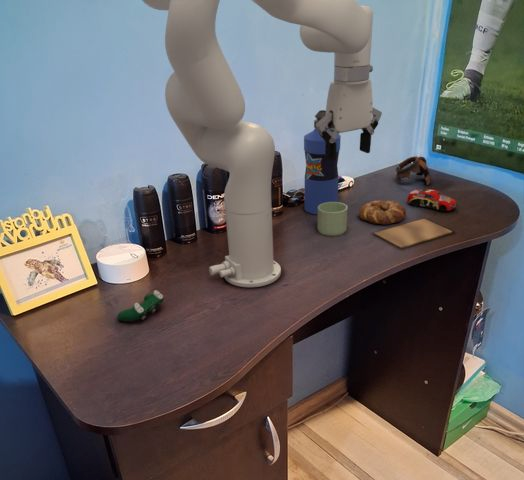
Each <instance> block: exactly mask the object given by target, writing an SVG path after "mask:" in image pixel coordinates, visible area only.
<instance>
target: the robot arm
mask: <svg viewBox="0 0 524 480" xmlns="http://www.w3.org/2000/svg"><path fill="white" fill-rule="evenodd" d="M251 1H252V2H253V3H255V4H256V5H257V6H258V7H260V8H261V9H262V10H263V11H264V12H266V13H267V14H268V15H270V16H271V17H273V18H275V19H278V20H280V21H283V22H285V23H286V22H287V23H289V24H294V25H300V26H299V37H300V40H301V42H302V43H303V45H304V46H305V47H306V49H309V50H310V51H313V52H318V53H329V54H330V53H331V54H332V53H333V54H334V59H333V60H334V61H333V81H331V82H330V84H329V87H328V91H327V98H326V105H325V106H326V107H325V111H326V115H325V116H324V117H323V118H322V119H321V120H319V121H318V122H317V123H316V127H317V129H318V132H319V135H320V136H321V137H322V138H323V140H324V141H326V143H325V155H326V158H327V159H329V160H331V161H335V160H336V143H335V142H334V141H335V139H336V138H337V136H338V134H343V133H347V132H348V133H349V132H352V131H357V130H361V131H362V132H360V134H359V135H360V137H359V151H361V152H362V153H365V154H370V153H371V145H372V136H373V135H374V133H375V130H376V128H377V127H378V125H379V121H380V120H381V117H382V114H383V113H382V111H381V110H379V109H377V108H375V107H374V106H373V103H374V102H373V101H374V100H373V87H372V80H371V79H370V73H372V72H373V71H374V67H373V65H371V55H372V54H371V51H372V38H373V24H374V23H373V22H374V15H373V14H374V13H373V10H372V8H371V7H370V6H368V5H361V4H359V2H357V0H251ZM142 2H143V3H144V4H145V5H147V6H148V7H149V8H151V9H154V10H157V11H168V12H167V18H166V25H165V34H164V46H165V47H164V48H165V52H166V57H167V59H168V62H169V64H170V66H171V68H172V70H173V73H171V74H170V75H169V77H168V79H167V82H166V84H165V90H164V98H165V105H166V108H167V110H168V113H169V115H170V117H171V118H172V120H173V122H174V123H175V125H176V127H177V128H178V130H179V132H180V133H181V134H182V136H183V138H184V139H185V141H186V142H187V144H188V146H189V147H190V148H191V150H192V151H193V153H194V154H195V156H196V157H197V158H198V160H200V161H201V162H202V163H203V164H206V165H208V166H210V167H214V168H218V169H221V170H224V171H226V172H228V173H229V177H228V180H227V183H226V185H225V188H224V193H223V201H224V202H223V204H224V214H225V225H226V235H227V246H228V255H225V256H224V261H222V262H221V263H220V264H215V265H210V266H209V267H208V272H209V275H210V276H215V275H218V274H219V277H220V278H224V279H225V281H226V282H228V283H229V284H231V285H232V286H235V287H241V288H259V287H260V288H261V287H264V286H268V285H270V284H272V283H274V282H276V281H278V279H279V278H280V277H281V275H282V267H281V264H279V263H278V262H276V261H275V260H274V236H273V235H274V234H273V232H274V231H273V208H272V207H273V206H272V177H273V176H272V175H273V168H274V162H275V155H276V146H275V141H274V138H273V136H272V135H271V133H270V132H269V131H268V130H267V129H266V128H264V127H263V126H262V125H259V124H258V123H254V122H250V121H245V120H243V118H244V115H245V112H246V103H245V102H246V101H245V97H244V95H243V91H242V89H241V87H240V85H239V83H238V81H237V79H236V76H235V75H234V74H233V71H232V68H231V67H230V65H229V63H228V61H227V59H226V57H225V55H224V53H223V50H222V49H221V48H222V47H221V45H220V44H219V40H218V38H217V33H216V21H217V15H218V14H217V13H218V9H219V5H220V0H142ZM325 126H326V128H327V129H328V130H327V131H326V130H325Z"/></svg>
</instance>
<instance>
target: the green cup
mask: <svg viewBox="0 0 524 480" xmlns="http://www.w3.org/2000/svg"><path fill="white" fill-rule="evenodd" d="M348 211H349V207H348V205H347V204H346V203H343V202H341V201H338V202H326V203H322V204H320V205H319V206H318V208H317V214H316V218H317V219H316V220H317V222H316V230H317V231H318V233H319V234H321V235H324V236H329V237H331V236H332V237H334V236H340V235H343V234H344V233H346V231H347V229H348V216H349V215H348V214H349V213H348Z"/></svg>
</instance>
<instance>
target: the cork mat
mask: <svg viewBox="0 0 524 480" xmlns="http://www.w3.org/2000/svg"><path fill="white" fill-rule="evenodd" d="M452 233H453V231H452V230H450V229H448V228H446V227H444V226H442V225H440V224H437V223H435V222H433V221H431V220H429V219H426V218H421V219H417V220H413V221H410V222H406V223H404V224H399V225H396V226H392V227H390V228H385V229H383V230H379V231H376V232H374V233H373V235H374V236H376V237H378V238H380V239H382V240H384V241H386V242H388V243H389V244H391V245H393V246H395V247H397V248H399V249H406V248H408V247H411V246H415V245H418V244H421V243H424V242H427V241H430V240H431V241H432V240H434V239H437V238H440V237H443V236H446V235H449V234H452Z"/></svg>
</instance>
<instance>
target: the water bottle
mask: <svg viewBox="0 0 524 480" xmlns="http://www.w3.org/2000/svg"><path fill="white" fill-rule="evenodd" d="M325 115H326V109H323V110H318V112H317V113H316V114H315V115H314V117H315V119H314V120H313V130H312V131H310V132H308V133H306V134H305V135H304V136H303V151H304V158H305V171H304V210H305V212H307V213H309V214H313V215H317V208H318V206H319V205H320V204H322V203H326V202H339V170H338V163H339V156H340V150H341V138H342V137H341V133H339V134H338V136H337V138H336V139H335V141H334V142H335V143H336V160H335V161H331V160H329V159H327V158H326V155H325V143H326V141H324V140H323V138H322V137H321V136H320V135H319V132H318V129H317V127H316V123H317V122H318V121H319V120H321V119H322V118H323V117H324V116H325ZM325 130H326V131H327V130H328V129H327V128H326V126H325Z"/></svg>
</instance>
